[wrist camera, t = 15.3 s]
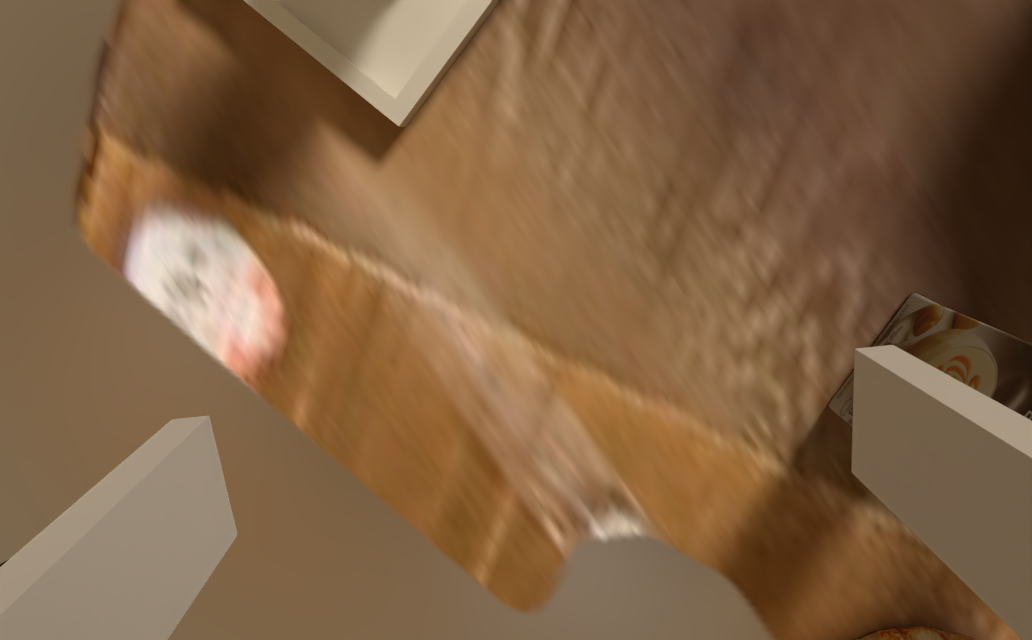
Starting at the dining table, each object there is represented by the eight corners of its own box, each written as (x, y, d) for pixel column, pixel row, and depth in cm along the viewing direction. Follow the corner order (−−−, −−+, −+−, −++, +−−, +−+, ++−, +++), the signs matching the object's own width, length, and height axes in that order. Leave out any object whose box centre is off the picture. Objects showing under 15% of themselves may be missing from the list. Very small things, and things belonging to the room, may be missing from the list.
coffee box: (909, 287, 43) (1137, 374, 27) (988, 335, 44) (1253, 445, 28) (822, 407, 45) (989, 551, 30) (900, 450, 46) (1101, 612, 30)
